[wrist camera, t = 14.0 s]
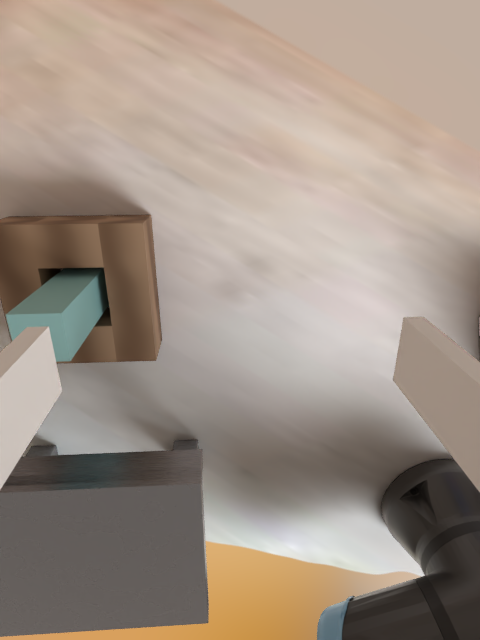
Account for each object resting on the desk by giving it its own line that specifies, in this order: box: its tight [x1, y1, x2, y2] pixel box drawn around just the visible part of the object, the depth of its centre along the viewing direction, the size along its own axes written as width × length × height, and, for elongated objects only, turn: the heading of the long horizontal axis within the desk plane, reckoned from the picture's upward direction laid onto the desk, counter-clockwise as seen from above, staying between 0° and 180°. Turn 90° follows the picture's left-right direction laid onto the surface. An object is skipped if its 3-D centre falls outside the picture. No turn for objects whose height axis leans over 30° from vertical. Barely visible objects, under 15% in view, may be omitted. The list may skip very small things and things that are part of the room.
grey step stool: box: [0, 440, 209, 637], centre depth 41 cm, size 24×16×20 cm, turn 90°
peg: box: [6, 267, 109, 362], centre depth 37 cm, size 4×4×14 cm
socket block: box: [0, 215, 162, 364], centre depth 41 cm, size 14×14×5 cm
